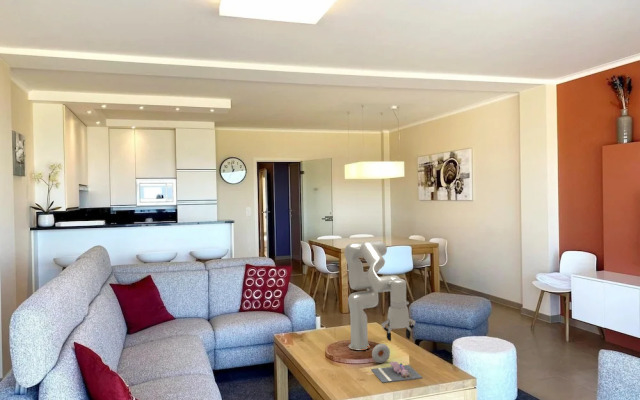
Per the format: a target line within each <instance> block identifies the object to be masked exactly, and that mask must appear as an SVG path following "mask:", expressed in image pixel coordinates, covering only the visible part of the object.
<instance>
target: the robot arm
mask: <svg viewBox="0 0 640 400" xmlns="http://www.w3.org/2000/svg"><path fill="white" fill-rule="evenodd" d="M387 251H388V247H387V245H386V243H385V242H384V241H382V240H370V241H362V242H360V241H359V242H358V241H357V242H352V243H348V244H346V246H345V248H344V257H345V261H346V263H347V273H348V282H349V287H350V289H352V290H354V291H355V290H357V291H356V292H353V293H351V294H349V295H348V298H347V303H348V308H349V316H350V317H349V318H350V319H349V320H350V322H349V323H350V343H349V344H348V347H349V348H351V349H356V350H361V349H367V348H368V347H367V346H369V344H370V343H369V341H368V340H369V336H368V334H369V333H368V315H367V314H366V312H365V311H364V310H366V309H370V308H375V307H377V306H378V305H379V293H385V292H390V293H389V294H390V306H389V307H388V310H387V319H386V320H385V321H383V322H381V324H380V325H381V327H382V328H383V330H384V331H385V332H386V338H387V340H388V341H389V342H392V333H391V331H392V330H394V329H405V328H406V330H405V338H406V339H407V340H410V339H411V332H412V330H413V328H414V327H415V324H416V320H414V319H412V318H410V313H409V308H408V306H407V305H409V304H410V301H408V300H407V281H406V280H405V279H403V278H400V276H398V275H394V274H393V275H384V276H378V273H377V272H379V270H381V269H382V268H383V267H384V266H385V263H386V260H385V258H384V257H383V256H385V255H386V254H387ZM360 258H364V260H365V261H366V263H367V265H368V266H369V268H368V270H367V271H364V265H363V263H362V261H361V259H360ZM358 290H365V291H358ZM386 326H387V327H386ZM348 347H347V348H348ZM349 348H348V349H349Z"/></svg>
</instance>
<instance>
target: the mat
mask: <svg viewBox="0 0 640 400" xmlns="http://www.w3.org/2000/svg"><path fill="white" fill-rule="evenodd" d="M402 365H403V364H402ZM403 367H404V369H405V370H408V373H410V374H411V377H410V375H409V376H408V377H407V378H405V377H403V376H402V374H401V373H397V372H395V371H394V368H393V367H392V366H388V367H378V368H371V372H372V373H373V374H374V375H375V376H376V378H377V379H378V380H379V381H380V382H381V384H387V383H395V382H403V381H404V382H405V381H409V380H410V381H411V380H419V379H420V378H421V379H423V376H421V374H420V373H418V372H417V371H416V370H415V369H414V368H413V367H412V366H411V365H410V364H405V365H403Z"/></svg>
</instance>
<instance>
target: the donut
mask: <svg viewBox="0 0 640 400" xmlns="http://www.w3.org/2000/svg"><path fill="white" fill-rule="evenodd" d="M381 351H382V352H383V353H382V355H379V353H380V352H381ZM390 354H391V350H390V348H389V346H388V345H387V344H385V343H379V344H376V345H375V346H374V347H373V349H372V351H371V357H372V359H373V361H374V362H375V363H378V364H383V363H385V362H386V361H388V359H389V358H390V356H391V355H390Z"/></svg>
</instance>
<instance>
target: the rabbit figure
mask: <svg viewBox="0 0 640 400" xmlns="http://www.w3.org/2000/svg"><path fill="white" fill-rule="evenodd" d="M389 364H390V367H393V368H394V371H395V372H397V373H401V374H402V376H403V377H405V378H407V377H408V376H409V375H410V377H411V374H410V373H408V370H405V369H404V367H403V363H402V362H401V363H398V362H397V361H392V362H389Z"/></svg>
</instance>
